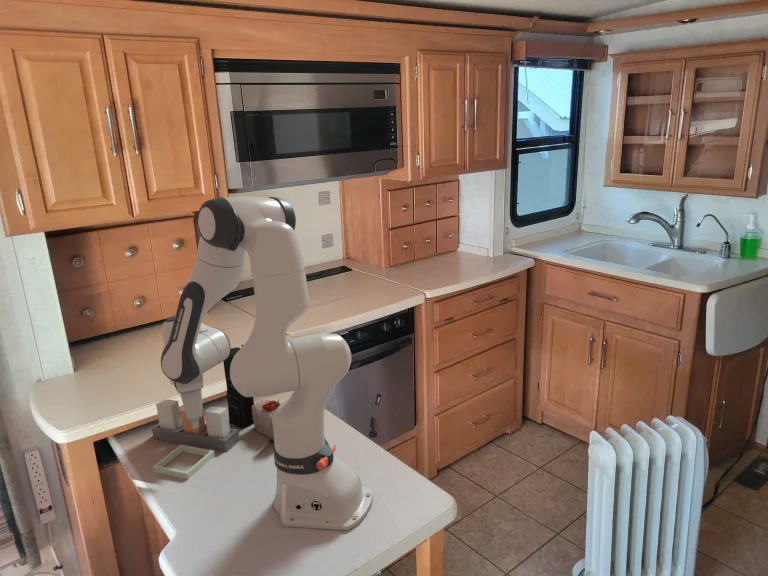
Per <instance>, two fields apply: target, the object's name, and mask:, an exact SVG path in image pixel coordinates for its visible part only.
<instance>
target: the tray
mask: <svg viewBox="0 0 768 576" xmlns="http://www.w3.org/2000/svg"><path fill="white" fill-rule="evenodd" d="M181 453H187V454H193V455H199V456H203V457H202V458H201V459H200V460H198V461H197V462H196V463H195V464H194V465H193V466H191V467H190V468H189V469H188V470H180V469H177V468H171V467H165V466H166V465H168V463H170V462H171V461H172V460H174V459H175V458H176V457H178V456H179V455H180V454H181ZM214 457H216V454H215V450H210V449H204V448H198V447H193V446H187V445H182V444H179V445H178V446H177V447H176V448H175V449H173V450H172V451H170V452H169V453H168V454H167V455H166V456H165V457H163V458H162V459H160V460H159V461H158V462H157V463H155V464H154V465H153V466H152V471H153V473H155V474H160V475H164V476H169V477H173V478H179V479H184V480H190V479H191V478H192V477H193V476H194V475H195V474H196V473H198V472H199V470H201V469H202V468H204V466H205V465H207V464H208V463H209V462H210V461H211V460H212V459H213V458H214Z"/></svg>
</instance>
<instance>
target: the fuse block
mask: <svg viewBox="0 0 768 576" xmlns="http://www.w3.org/2000/svg"><path fill="white" fill-rule="evenodd" d="M179 403H180V402H179V400H173V399H166V398H162V399H161V400H159V401H158V402H157V403H155V406H156V412H157V418H158V423H157V424H156V425H155V426H153V427H152V428H151V431H152V437H151V438H150V440H155V441H158V442H159V441H161V442H165V443H166V442H167V443H171V444H178V445H186V446H191V447H197V448H202V449H208V450H213V451H214V452H215V451H216V452H223V453H228V452H229V451H231V450H232V449H233V448H234V447H236V445H237V444H238V443H239V442H241V440H242V438H241V437H240V433H239V429H238V428H237V429H236V428H232V427H230V423H229V412H228V407H222V406H213V405H210V407H208V408H207V409H205V410H204V419H205V427H206V430H205V431H203V432H202V433H201V434H200V435H198V434H192V433H186V432H184V430H183V424H182V418H181V412H180V405H179Z"/></svg>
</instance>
